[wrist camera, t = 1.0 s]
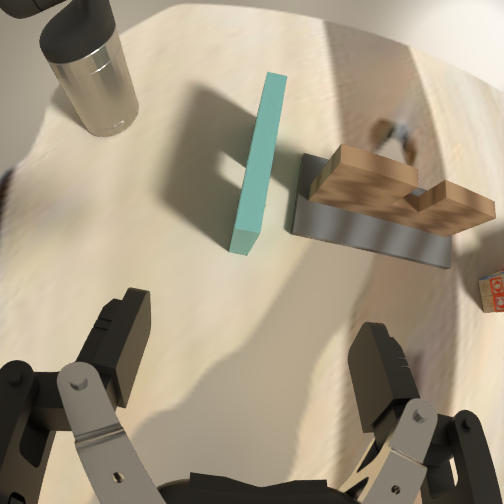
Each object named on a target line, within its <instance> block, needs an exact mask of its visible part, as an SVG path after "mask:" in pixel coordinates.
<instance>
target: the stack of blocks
mask: <svg viewBox="0 0 504 504" xmlns="http://www.w3.org/2000/svg"><path fill="white" fill-rule="evenodd" d="M478 282H479V288H480V293H481V299H482V305H483V310H484V313H490V312H504V269H503V270H501V271H499V272H495V273H493V274H491V275H489V276H487V277H485V278H483V279H481V280H479V281H478Z"/></svg>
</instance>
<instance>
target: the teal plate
mask: <svg viewBox="0 0 504 504" xmlns="http://www.w3.org/2000/svg"><path fill="white" fill-rule="evenodd" d="M286 80H287V76H284V75H279V74H275V73H270V72H267V76H266V80H265V84H264V88H263V93H262V97H261V101H260V105H259V109H258V113H257V118H256V122H255V126H254V131H253V136H252V140H251V145H250V150H249V154H248V159H247V164H246V171H245V176H244V181H243V185H242V189H241V193H240V198H239V203H238V208H237V213H236V218H235V223H234V228H233V233H232V238H231V243H230V248H229V252H231V253H236V254H241V255H246V256H247V255H248V253H249V251H250V250H251V248H252V246H253V245H254V243H255V241H256V239H257V238H258V236H259V234H260V231H261V225H262V219H263V213H264V208H265V202H266V196H267V190H268V185H269V179H270V173H271V167H272V162H273V156H274V150H275V144H276V138H277V133H278V127H279V121H280V115H281V109H282V103H283V98H284V92H285V86H286Z"/></svg>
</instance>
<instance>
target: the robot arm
mask: <svg viewBox="0 0 504 504" xmlns="http://www.w3.org/2000/svg"><path fill="white" fill-rule="evenodd" d="M64 1H66V0H0V8H1V9H2V10H3V11H4V12H5V13H7V14H8V15H10V16H12V17H14V18H17V19H22V18H27V17H30V16H33V15H35V14H38V13H40V12H42V11H44V10H46V9H48V8H50V7H53V6H55V5H57V4H59V3H62V2H64ZM39 42H40V48H41V50H42V52H43V54H44V56H45V58H46V59H47V61H48V63H49V64H50V66H51V68H52V70H53V72H54V73H55V75H56V77H57V79H58V81H59V82H60V84H61V86H62V88H63V89H64V91H65V93H66V95H67V96H68V98H69V100H70V102H71V103H72V105H73V107H74V108H75V110H76V112H77V113H78V115H79V117H80V119H81V120H82V122H83V124H84V125H85V127H86V128H87V130H88V131H89V132H90V133H91V134H93V135H95V136H100V137H107V136H112V135H115V134H117V133H120V132H121V131H123V130H124V129H126V128H127V127H128V126H129V125H130V124H131V123H132V122H133V121H134V119H135V117H136V116H137V113H138V101H137V98H136V94H135V91H134V87H133V84H132V81H131V77H130V74H129V70H128V67H127V63H126V60H125V56H124V53H123V49H122V46H121V42H120V39H119V35H118V32H117V28H116V24H115V20H114V16H113V13H112V10H111V6H110V3H109V0H72V1H71V2H70V3H69V5H67V6H66V7H65V8H64V9H63V10H61V11H60V12H59V13H58V14H57V15H55V16H54V17H53V18H52V19H51V20H50V21H49V22H48V24H47V25H46V26H45V28H44V29H43V31H42V33H41V36H40V40H39ZM150 330H151V305H150V292H149V291H147V290H141V289H136V288H131V287H130V288H128V290H127V292H126V294H125V296H124V298H123V300H118V299H113V300H111V301H110V302H109V303H108V304H106V305H105V306H104V307H103V309H102V311H101V312H100V314H99V316H98V319H97V320H96V322H95V324H94V327H93V328H92V330H91V332H90V333H89V335H88V337H87V339H86V341H85V343H84V345H83V347H82V349H81V351H80V354H79V356H78V358H77V359H76V361H75V362H73V363H70V364H68V365H66V366H65V367H63V368H62V369H61V371H59V372H34V371H33V369H32V368H31V366H30V365H29V364H28V363H26V362H24V361H20V360H14V361H10V362H8V363H6V364H5V365H4V366H3V367H2V368H1V369H0V504H38V499H39V495H40V490H41V486H42V482H43V478H44V474H45V470H46V466H47V462H48V458H49V455H50V451H51V448H52V444H53V441H54V438H55V434H56V431H72V432H73V435H74V438H75V447H76V450H77V453H78V455H79V458H80V460H81V462H82V465H83V467H84V470H85V472H86V474H87V476H88V479H89V481H90V483H91V485H92V487H93V489H94V491H95V494H96V495H97V498H98V500H99V502H100V504H413V503H414V501H415V499H416V496H417V494H418V492H419V490H421V497H422V504H503V503H502V498H501V493H500V489H499V485H498V481H497V477H496V473H495V469H494V465H493V462H492V458H491V455H490V451H489V448H488V444H487V441H486V438H485V435H484V432H483V429H482V426H481V423H480V420H479V419H478V417H477V416H476V415H475V414H474V413H473V412H471V411H468V410H461V411H459V412H458V413H457V414H456V415H455V416H454V417H449V416H445V415H441V414H437V412H436V410H435V408H434V407H433V406H432V405H431V404H430V403H429V402H428V401H426V400H423V399H421V398H420V396H419V393H418V390H417V387H416V385H415V382H414V379H413V376H412V374H411V371H410V368H408V363H407V360H405V355H404V353H403V350H402V348H401V346H400V345H399V344H398V342H397V341H396V340H395V339H394V338H393V337H390V336H389V334H388V331H387V329H386V326H385V325H384V324H382V323H371V322H365V323H364V324H363V325H362V327H361V329H360V331H359V332H358V334H357V336H356V338H355V340H354V342H353V344H352V345H351V347H350V350H349V353H348V365H349V369H350V374H351V378H352V383H353V387H354V392H355V396H356V401H357V405H358V410H359V415H360V420H361V425H362V430H363V433H369V432H374V435H375V438H374V439H373V440H372V441H371V443H370V444H369V446H368V448H367V450H366V451H365V453H364V455H363V457H362V458H361V460H360V462H359V463H358V465H357V466H356V468H355V470H354V471H353V473H352V474H351V476H350V477H349V478H348V480H347V481H346V482H345V483H344V484H343V485H342V486H341V487H340V489H339V490H337V489H333V488H330V487H327V480H295V481H290V482H286V483H281V484H277V485H272V486H267V487H256V486H253V485H250V484H246V483H243V482H240V481H237V480H233V479H230V478H227V477H222V476H213V475H205V474H198V473H192V472H191V473H190V479H181V480H176V481H172V482H168V483H165V484H163V485H161V486H158V487H155V485H154V483H153V482H152V480H151V478H150V477H149V475H148V473H147V471H146V470H145V468H144V466H143V464H142V463H141V461H140V459H139V457H138V455H137V453H136V452H135V450H134V448H133V446H132V444H131V442H130V440H129V438H128V436H127V434H126V432H125V430H124V429H123V427H122V426H121V424H120V422H119V420H118V418H117V416H116V414H115V411H116V408H117V406H118V407H122V408H126V406H127V403H128V400H129V396H130V393H131V390H132V387H133V384H134V380H135V377H136V374H137V371H138V368H139V365H140V362H141V359H142V356H143V353H144V350H145V347H146V344H147V341H148V338H149V335H150ZM453 457H454V461H455V465H456V470H457V474H458V482H457V485H456V486H455V484H454V479H453V474H452V470H451V465H450V461H449V460H450V459H452V458H453Z"/></svg>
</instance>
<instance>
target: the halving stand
mask: <svg viewBox="0 0 504 504" xmlns="http://www.w3.org/2000/svg"><path fill="white" fill-rule="evenodd" d="M495 218H496V214H495V202H494V201H492V200H490V199H488V198H486V197H483V196H481V195H479V194H477V193H475V192H472V191H470V190H468V189H466V188H463V187H461V186H459V185H456V184H454V183H452V182H449V181H447V180H444V181H443V182H441V183H439V184H438V185H436V186H435V187H433V188H431V189H430V190H428V191H427V190H424V189H421V188H418V169H416V168H414V167H411V166H408V165H406V164H403V163H400V162H397V161H394V160H391V159H389V158H386V157H382V156H380V155H377V154H374V153H370V152H367V151H364V150H361V149H358V148H355V147H351V146H348V145H345V144H341V145H340V146H339V148H338V149H337V150H336V152H335V153H334V154H333V156H332V157H331V158H330V160H328V159H324V158H321V157H317V156H313V155H309V154H305V153H304V154H303V156H302V159H301V166H300V174H299V181H298V189H297V196H296V203H295V210H294V217H293V224H292V231H291V234H292V235H297V236H301V237H306V238H311V239H315V240H320V241H325V242H329V243H334V244H339V245H343V246H348V247H353V248H357V249H361V250H366V251H370V252H375V253H379V254H383V255H388V256H392V257H396V258H401V259H405V260H409V261H414V262H418V263H422V264H426V265H430V266H435V267H439V268H443V269H450V268H451V235H453V234H456V233H459V232H461V231H464V230H467V229H469V228H472V227H474V226H477V225H480V224H482V223H485V222H487V221H490V220H492V219H495Z"/></svg>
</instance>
